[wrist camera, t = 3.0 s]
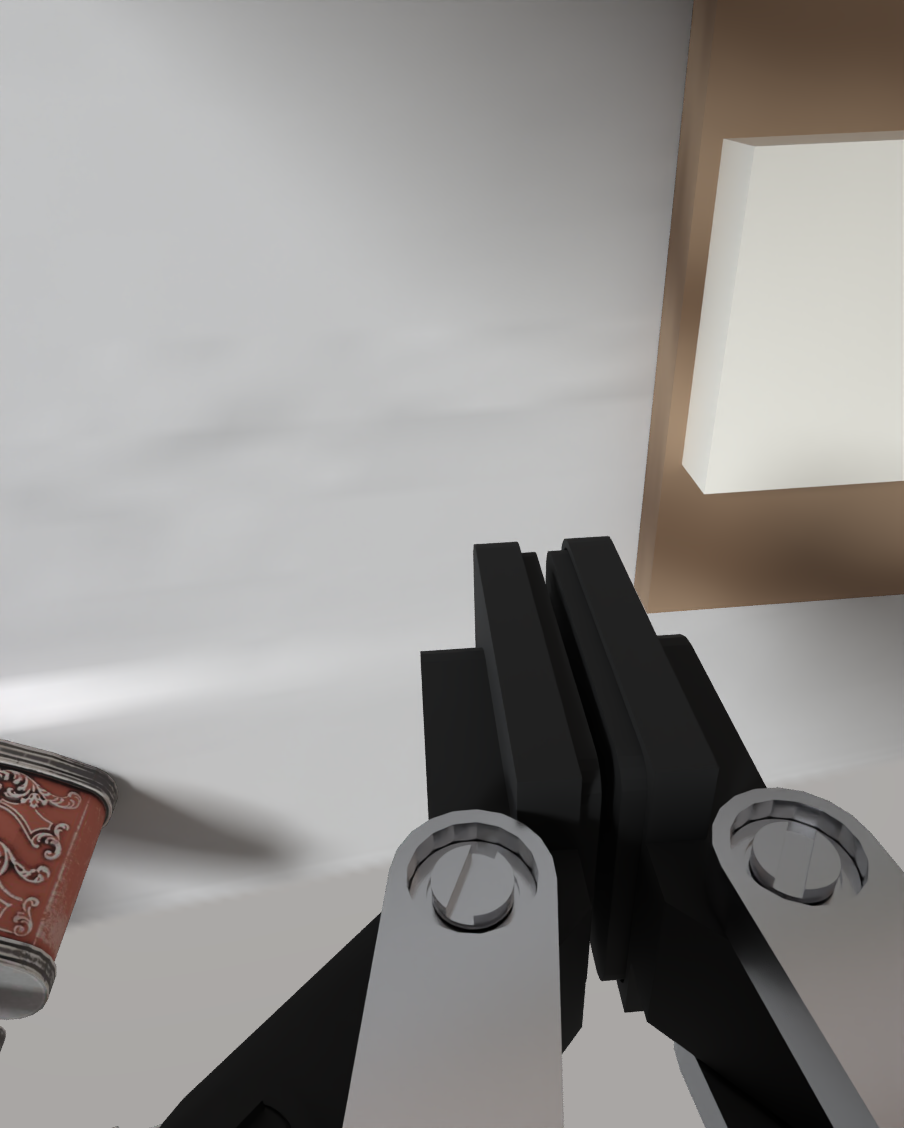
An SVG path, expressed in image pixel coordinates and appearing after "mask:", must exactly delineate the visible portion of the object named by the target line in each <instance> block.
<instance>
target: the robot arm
mask: <svg viewBox="0 0 904 1128" xmlns="http://www.w3.org/2000/svg"><path fill="white" fill-rule="evenodd" d="M473 561H474V601H475V641H476V648H465V649H450V650H435V651H420V653H421V675H422V695H423V715H424V735H425V755H426V776H427V796H428V816H429V820H428V821H427V822H425V823H424V824H422V825H421V826H419V827H418V828H416V829H415V830H413V831H412V832H411V833H410V834H409V835H408V836H407V838H406V839H405V840H404V841H403V843H402V844H401V845H400V846H399V847H398V849H397V851H396V853H395V856H394V859H393V861H392V864H391V867H390V869H389V874H388V880H387V885H386V891H385V896H384V902H383V907H382V912H381V913H380V914H379V915H378V916H377V917H376V918H375V919H373V920H372V921H371V922H370V923H369V924H368V925H367V926H366V927H365V928H364V929H363V930H362V931H361V932H360V933H359V934H357V935H356V936H355V938H353V939H352V940H351V941H350V942H349V943H348V944H347V945H346V946H345V947H344V948H343V949H342V950H341V951H339V952H338V953H337V954H336V955H335V956H334V957H333V958H332V959H331V960H330V961H329V962H328V963H327V964H326V965H325V966H324V967H323V968H322V969H321V970H319V971H318V972H317V973H316V974H315V975H314V976H313V977H312V978H311V979H310V980H309V981H308V982H307V983H306V984H304V985H303V986H302V987H301V988H300V989H299V990H298V991H297V992H296V993H295V994H294V995H293V996H292V997H291V998H290V999H289V1000H288V1001H287V1002H285V1003H284V1004H283V1005H282V1006H281V1007H280V1008H279V1009H278V1010H277V1011H276V1012H275V1013H274V1014H273V1015H272V1016H271V1017H270V1018H268V1020H266V1021H265V1022H264V1023H263V1024H262V1025H261V1026H260V1027H259V1028H258V1029H257V1030H256V1031H255V1032H254V1033H252V1034H251V1036H249V1037H248V1038H247V1039H246V1040H245V1041H244V1042H243V1043H242V1044H241V1045H240V1046H239V1047H238V1048H237V1049H236V1050H234V1051H233V1052H232V1053H231V1054H230V1055H229V1056H228V1057H227V1058H226V1059H225V1060H224V1061H223V1062H222V1063H221V1064H220V1065H219V1066H217V1067H216V1069H214V1070H213V1071H212V1073H210V1074H209V1075H208V1076H207V1077H206V1078H205V1079H204V1080H203V1081H202V1082H201V1083H199V1084H198V1085H197V1086H196V1087H195V1088H194V1089H193V1090H192V1091H191V1092H190V1093H189V1094H188V1095H187V1096H186V1097H185V1098H184V1099H183V1100H182V1101H181V1102H180V1103H179V1104H178V1106H177V1107H176V1108H175V1109H174V1110H173V1112H172V1113H171V1114H170V1115H169V1116H168V1117H167V1119H166V1120H165V1121H164V1122H163V1124H160V1125H157V1126H154V1127H151V1128H564V1116H563V1079H562V1053H563V1052H564V1051H565V1049H566V1048H567V1046H568V1045H569V1044H570V1043H571V1041H572V1040H573V1038H574V1037H575V1036H576V1034H577V1033H578V1031H579V1030H580V1029H581V1027H582V1020H583V1008H584V995H585V983H586V979H587V968H588V955H589V945H590V944H591V948H592V953H593V957H594V961H595V965H596V970H597V973H598V976H599V978H600V980H601V981H609V980H617V984H618V988H619V992H620V996H621V1000H622V1004H623V1008H624V1012H637V1011H644V1013H645V1016H646V1020H647V1022H648V1023H650V1024H651V1025H652V1026H654V1027H655V1028H657V1029H658V1030H659V1031H661V1032H662V1033H664V1034H665V1035H666V1036H668V1037H669V1038H670V1039H672V1040H673V1041H674V1050H675V1053H676V1057H677V1061H678V1064H679V1067H680V1071H681V1073H682V1075H683V1078H684V1080H685V1082H686V1084H687V1087H688V1089H689V1091H690V1094H691V1096H692V1098H693V1100H694V1103H695V1105H696V1107H697V1110H698V1112H699V1114H700V1117H701V1119H702V1121H703V1123H704V1125H705V1127H706V1128H904V872H903V871H902V869H901V868H900V867H899V866H898V865H897V863H896V862H895V861H894V860H893V859H892V857H891V856H890V855H889V854H888V853H887V851H886V850H885V849H884V848H883V847H882V845H881V844H880V843H879V842H878V841H877V839H876V838H875V837H874V836H873V835H872V833H870V831H868V830H867V829H866V828H865V827H864V826H863V825H862V824H861V823H860V822H859V821H858V820H857V819H856V818H855V817H853V815H851V814H850V813H848V812H846V811H844V810H843V809H841V808H840V807H838V806H836V805H835V804H833V803H832V802H830V801H828V800H825V799H823V798H820V797H817V796H814V795H812V794H809V793H806V792H804V791H797V790H791V789H785V788H778V787H777V788H766V786H765V784H764V782H763V780H762V778H761V776H760V774H759V772H758V771H757V769H756V767H755V765H754V763H753V761H752V759H751V757H750V755H749V753H748V751H747V750H746V748H745V746H744V744H743V742H742V740H741V738H740V736H739V734H738V732H737V731H736V729H735V727H734V725H733V723H732V721H731V719H730V717H729V715H728V713H727V712H726V710H725V708H724V706H723V704H722V702H721V700H720V698H719V696H718V694H717V693H716V691H715V689H714V687H713V685H712V683H711V681H710V679H709V677H708V675H707V674H706V672H705V670H704V668H703V666H702V664H701V662H700V660H699V658H698V656H697V655H696V653H695V651H694V649H693V647H692V645H691V643H690V642H689V641H688V639H687V638H686V637H685V636H683V635H681V634H676V635H661V636H657V635H656V633H655V631H654V629H653V627H652V625H651V622H650V620H649V618H648V616H647V614H646V612H645V610H644V608H643V605H642V603H641V601H640V599H639V597H638V595H637V593H636V591H635V589H634V586H633V584H632V582H631V580H630V578H629V576H628V574H627V572H626V570H625V567H624V565H623V563H622V561H621V559H620V557H619V555H618V553H617V550H616V548H615V546H614V544H613V542H612V540H611V539H610V537H609V536H602V537H586V538H570V539H564V541H563V543H562V550H560V551H548V553H547V560H546V584H545V581H544V577H543V574H542V571H541V567H540V564H539V561H538V557H537V554H536V552H528V553H521V550H520V546H519V544H518V542H505V543H489V544H474V550H473ZM113 1128H119V1127H118V1126H116V1127H113Z"/></svg>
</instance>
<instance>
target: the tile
mask: <svg viewBox="0 0 904 1128" xmlns="http://www.w3.org/2000/svg"><path fill="white" fill-rule="evenodd" d="M682 465H683V467H684V468H685V469H686V471H687V472H688V473H689V475H690V476H691V477H692V479H693V480H694V481H695V483H696V484H697V485H698V487H699V488H700V489H701V491H702V492H703V494H715V493H730V492H744V491H759V490H774V489H789V488H803V487H818V486H833V485H848V484H862V483H877V482H892V481H904V130H901V131H879V132H857V133H835V134H813V135H792V136H770V137H748V138H726V139H723V145H722V153H721V160H720V168H719V176H718V184H717V192H716V200H715V208H714V216H713V223H712V231H711V239H710V247H709V255H708V263H707V271H706V278H705V286H704V294H703V302H702V310H701V318H700V326H699V333H698V341H697V349H696V357H695V365H694V373H693V381H692V389H691V396H690V404H689V412H688V420H687V428H686V436H685V444H684V451H683V459H682Z"/></svg>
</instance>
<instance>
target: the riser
mask: <svg viewBox="0 0 904 1128" xmlns="http://www.w3.org/2000/svg"><path fill="white" fill-rule="evenodd" d="M901 130H904V0H694V3H693V13H692V23H691V33H690V42H689V52H688V62H687V72H686V82H685V91H684V101H683V111H682V121H681V131H680V141H679V150H678V160H677V170H676V180H675V190H674V199H673V209H672V219H671V229H670V239H669V248H668V258H667V268H666V278H665V288H664V297H663V307H662V317H661V327H660V337H659V347H658V356H657V366H656V376H655V386H654V396H653V405H652V415H651V425H650V435H649V445H648V454H647V464H646V474H645V484H644V494H643V503H642V513H641V523H640V533H639V543H638V553H637V562H636V572H635V582H634V587H635V590H636V592H637V594H638V596H639V598H640V600H641V602H642V604H643V606H644V608H645V610H646V612H647V613H659V612H673V611H686V610H699V609H713V608H726V607H739V606H753V605H766V604H779V603H793V602H806V601H819V600H833V599H846V598H860V597H873V596H886V595H900V594H904V481H892V482H877V483H862V484H848V485H833V486H818V487H803V488H789V489H774V490H759V491H744V492H730V493H715V494H703V492H702V491H701V489H700V488H699V487H698V485H697V484H696V483H695V481H694V480H693V479H692V477H691V476H690V475H689V473H688V472H687V471H686V469H685V468H684V467H683V465H682V459H683V451H684V444H685V436H686V428H687V420H688V412H689V404H690V396H691V389H692V381H693V373H694V365H695V357H696V349H697V341H698V333H699V326H700V318H701V310H702V302H703V294H704V286H705V278H706V271H707V263H708V255H709V247H710V239H711V231H712V223H713V216H714V208H715V200H716V192H717V184H718V176H719V168H720V160H721V153H722V145H723V139H726V138H748V137H770V136H792V135H813V134H835V133H857V132H879V131H901Z"/></svg>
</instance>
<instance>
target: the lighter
mask: <svg viewBox="0 0 904 1128" xmlns="http://www.w3.org/2000/svg"><path fill="white" fill-rule="evenodd" d="M117 796H118V789H117V786H116V784H115V781H114V780H113V779H112V778H111V777H110V776H109V775H108V774H107V773H106V772H104V771H102V770H100V769H98V768H95V767H93V766H90V765H87V764H84V763H81V762H78V761H75V760H72V759H70V758H67V757H64V756H61V755H58V754H55V753H52V752H48V751H44V750H40V749H36V748H33V747H29V746H25V745H21V744H17V743H13V742H10V741H6V740H0V1019H4V1020H5V1019H6V1020H9V1019H21V1018H24V1017H27V1016H30V1015H33V1014H35V1013H36V1012H38V1011H39V1010H41V1009H42V1008H43V1007H44V1005H45V1003H46V1002H47V1000H48V997H49V994H50V991H51V988H52V985H53V983H54V980H55V977H56V964H55V963H54V961H55V958H56V955H57V953H58V950H59V947H60V944H61V941H62V939H63V936H64V933H65V930H66V927H67V924H68V922H69V919H70V916H71V913H72V910H73V907H74V905H75V902H76V899H77V896H78V893H79V890H80V888H81V885H82V882H83V879H84V876H85V873H86V871H87V868H88V865H89V862H90V859H91V856H92V854H93V851H94V848H95V845H96V842H97V839H98V837H99V834H100V831H101V829H102V828H103V827H104V826H106V825H107V823H108V821H109V819H110V818H111V815H112V812H113V809H114V806H115V804H116V801H117ZM5 1037H6V1031H5V1030H4V1029H3V1028H2V1027H1V1026H0V1051H1V1048H2V1046H3V1043H4V1041H5Z"/></svg>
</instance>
